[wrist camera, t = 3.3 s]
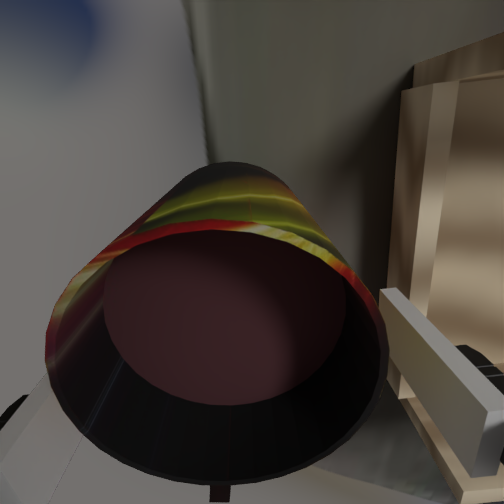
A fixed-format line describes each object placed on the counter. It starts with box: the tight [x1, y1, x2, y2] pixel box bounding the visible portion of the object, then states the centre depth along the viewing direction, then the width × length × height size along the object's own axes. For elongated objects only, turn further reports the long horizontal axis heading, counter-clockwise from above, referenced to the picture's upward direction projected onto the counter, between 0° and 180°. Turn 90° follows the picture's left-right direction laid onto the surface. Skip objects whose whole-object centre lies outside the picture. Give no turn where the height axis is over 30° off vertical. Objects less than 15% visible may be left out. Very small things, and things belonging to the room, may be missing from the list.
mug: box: [45, 162, 390, 502], centre depth 15 cm, size 10×14×12 cm
